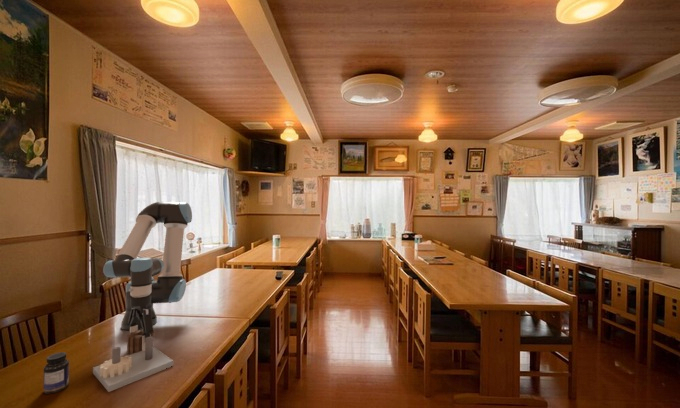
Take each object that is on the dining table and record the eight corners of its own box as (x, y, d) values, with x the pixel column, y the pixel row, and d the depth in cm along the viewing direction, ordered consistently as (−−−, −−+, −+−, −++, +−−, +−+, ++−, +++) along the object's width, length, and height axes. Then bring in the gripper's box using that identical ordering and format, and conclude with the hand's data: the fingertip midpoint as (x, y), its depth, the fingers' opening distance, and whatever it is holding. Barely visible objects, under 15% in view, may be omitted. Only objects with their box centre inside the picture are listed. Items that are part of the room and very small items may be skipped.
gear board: (92, 373, 107) (93, 345, 107) (153, 351, 123) (154, 327, 123) (108, 392, 96) (108, 361, 96) (173, 365, 112) (173, 339, 112)
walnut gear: (123, 350, 123) (123, 334, 123) (147, 343, 130) (148, 327, 130) (131, 357, 118) (131, 340, 118) (156, 349, 125) (156, 332, 125)
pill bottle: (54, 383, 100) (55, 351, 101) (73, 382, 101) (74, 350, 101) (37, 395, 94) (38, 360, 94) (58, 394, 95) (58, 359, 95)
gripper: (119, 292, 129) (118, 340, 128) (142, 302, 114) (141, 357, 113) (139, 288, 135) (138, 335, 134) (163, 298, 120) (162, 350, 119)
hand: (139, 345), depth 124 cm, fingers open, 13 cm apart
